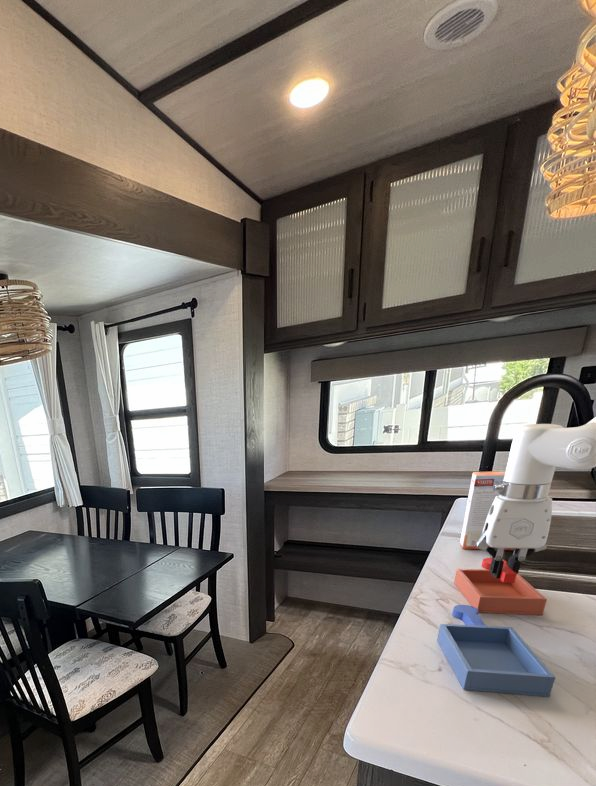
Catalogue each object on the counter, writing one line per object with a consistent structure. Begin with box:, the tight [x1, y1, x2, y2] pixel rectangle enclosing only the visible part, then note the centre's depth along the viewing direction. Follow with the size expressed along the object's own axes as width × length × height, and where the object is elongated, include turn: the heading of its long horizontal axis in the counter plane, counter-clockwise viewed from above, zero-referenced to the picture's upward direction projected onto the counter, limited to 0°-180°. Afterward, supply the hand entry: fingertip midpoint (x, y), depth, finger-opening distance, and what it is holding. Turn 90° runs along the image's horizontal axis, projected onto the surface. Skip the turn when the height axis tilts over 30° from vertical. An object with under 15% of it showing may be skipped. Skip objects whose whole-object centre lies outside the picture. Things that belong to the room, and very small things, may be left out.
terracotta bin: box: [453, 568, 548, 616], centre depth 103 cm, size 12×17×4 cm
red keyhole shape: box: [481, 557, 517, 583], centre depth 102 cm, size 11×4×2 cm, turn 163°
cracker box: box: [459, 470, 515, 552], centre depth 128 cm, size 14×6×21 cm, turn 65°
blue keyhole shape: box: [451, 604, 487, 626], centre depth 95 cm, size 11×4×2 cm, turn 163°
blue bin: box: [436, 623, 556, 698], centre depth 80 cm, size 12×17×4 cm
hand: (502, 575), depth 100 cm, fingers closed on red keyhole shape, 2 cm apart
